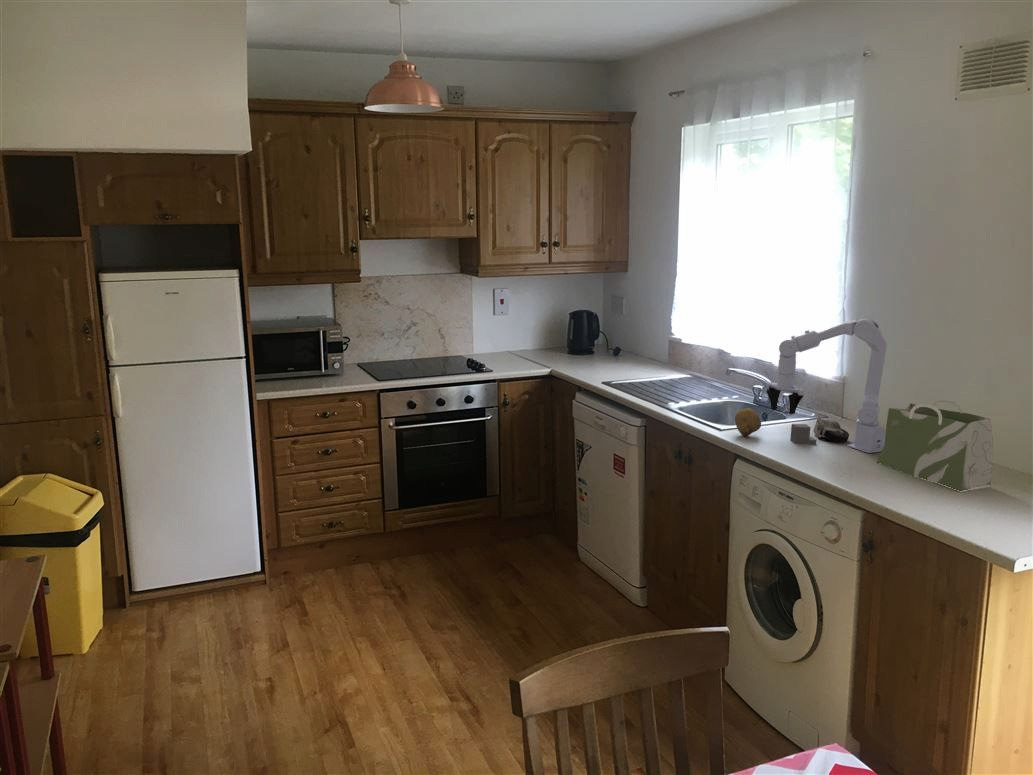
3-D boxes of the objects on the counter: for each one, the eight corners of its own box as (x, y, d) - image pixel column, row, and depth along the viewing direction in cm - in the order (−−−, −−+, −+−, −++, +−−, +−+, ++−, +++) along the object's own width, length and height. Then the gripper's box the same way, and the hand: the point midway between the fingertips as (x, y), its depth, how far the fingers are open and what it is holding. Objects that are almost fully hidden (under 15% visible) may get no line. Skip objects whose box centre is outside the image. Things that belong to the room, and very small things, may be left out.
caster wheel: (848, 450, 301) (819, 445, 301) (838, 435, 311) (811, 430, 311) (854, 433, 298) (826, 428, 298) (844, 419, 308) (817, 414, 308)
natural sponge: (757, 433, 310) (760, 406, 308) (762, 439, 302) (764, 411, 300) (731, 432, 311) (734, 405, 309) (735, 438, 303) (737, 410, 301)
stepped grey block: (816, 444, 298) (817, 427, 296) (794, 444, 298) (795, 427, 296) (811, 441, 302) (813, 424, 301) (790, 440, 302) (791, 423, 301)
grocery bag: (872, 463, 277) (880, 392, 272) (904, 458, 283) (912, 389, 278) (960, 493, 249) (970, 414, 244) (993, 487, 254) (1004, 410, 250)
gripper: (811, 375, 297) (807, 414, 300) (776, 369, 309) (773, 406, 311) (798, 377, 293) (794, 416, 296) (763, 370, 305) (760, 408, 307)
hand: (783, 411), depth 303 cm, fingers open, 7 cm apart
